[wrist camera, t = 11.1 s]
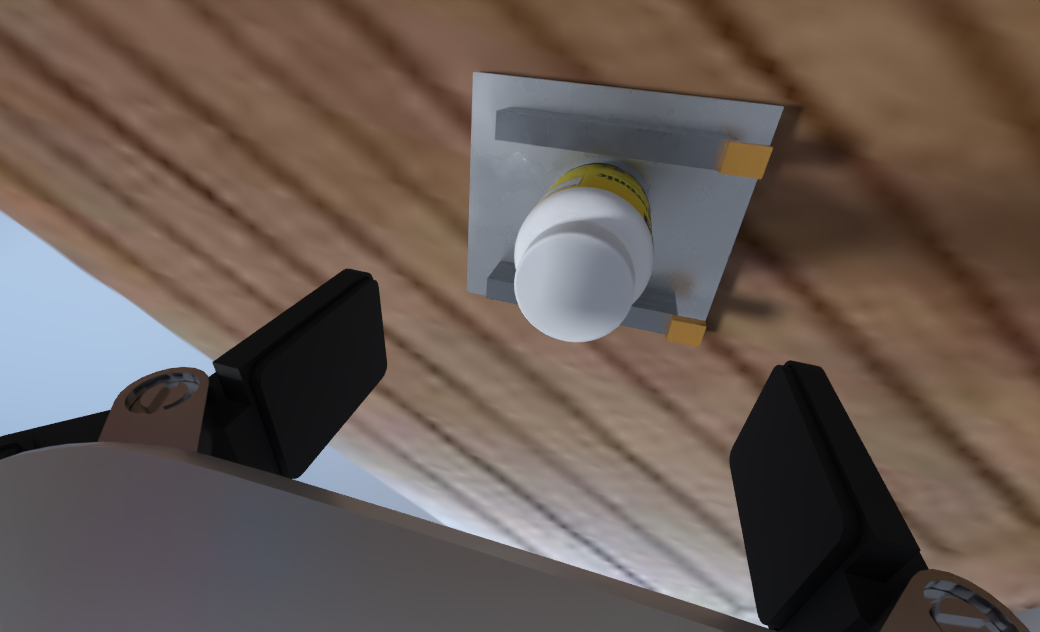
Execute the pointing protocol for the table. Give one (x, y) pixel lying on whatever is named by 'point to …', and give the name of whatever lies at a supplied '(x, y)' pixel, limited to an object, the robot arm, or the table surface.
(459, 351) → the table surface
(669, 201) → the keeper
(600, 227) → the supplement bottle
